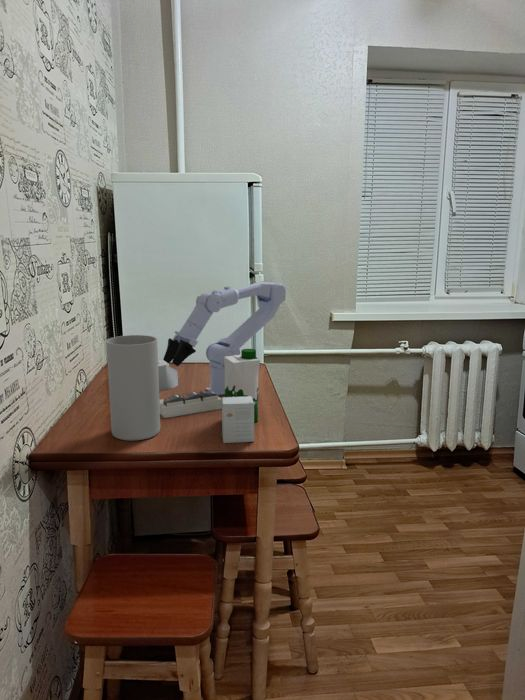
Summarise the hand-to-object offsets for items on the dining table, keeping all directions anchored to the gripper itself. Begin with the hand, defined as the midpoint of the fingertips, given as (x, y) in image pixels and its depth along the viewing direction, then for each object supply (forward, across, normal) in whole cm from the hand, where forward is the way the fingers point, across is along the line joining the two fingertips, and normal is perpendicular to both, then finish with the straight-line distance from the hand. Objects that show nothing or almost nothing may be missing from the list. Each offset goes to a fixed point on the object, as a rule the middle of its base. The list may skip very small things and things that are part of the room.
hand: (170, 363), depth 158 cm
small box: (+10, +35, +14) cm, 39 cm away
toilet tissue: (+7, -18, +8) cm, 21 cm away
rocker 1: (+9, +10, +3) cm, 14 cm away
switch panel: (+8, +8, +12) cm, 16 cm away
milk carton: (+5, +23, +18) cm, 30 cm away
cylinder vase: (+22, +18, -4) cm, 29 cm away
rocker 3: (+3, +10, +12) cm, 16 cm away
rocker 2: (+6, +10, +7) cm, 14 cm away
